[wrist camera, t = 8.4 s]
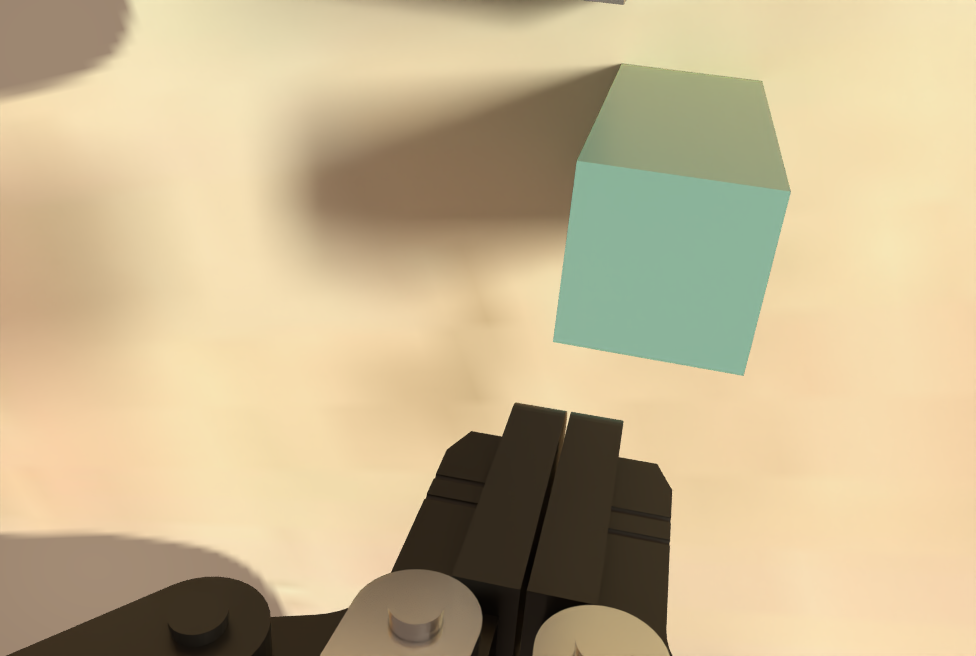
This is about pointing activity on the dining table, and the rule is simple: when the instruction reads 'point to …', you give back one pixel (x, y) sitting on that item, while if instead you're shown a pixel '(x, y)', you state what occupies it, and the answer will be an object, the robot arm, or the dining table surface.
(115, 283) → the dining table surface
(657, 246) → the teal flat-sided block
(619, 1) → the socket block
